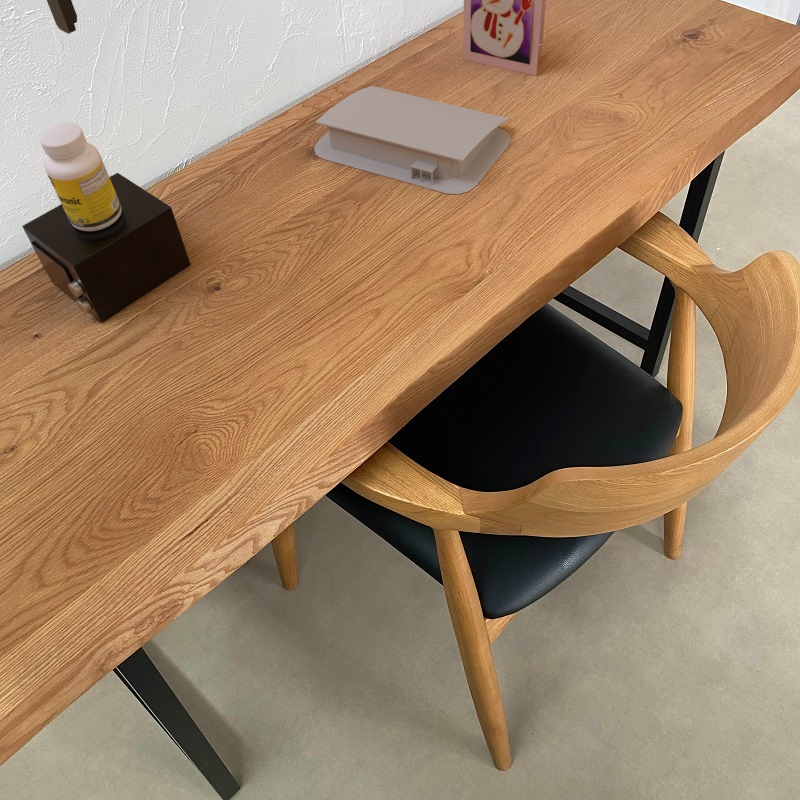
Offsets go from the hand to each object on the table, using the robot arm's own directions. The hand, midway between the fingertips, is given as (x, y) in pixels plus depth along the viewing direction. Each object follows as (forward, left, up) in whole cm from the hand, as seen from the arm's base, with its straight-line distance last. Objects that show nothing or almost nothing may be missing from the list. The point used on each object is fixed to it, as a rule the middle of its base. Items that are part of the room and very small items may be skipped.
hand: (25, 49), depth 69 cm
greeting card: (+45, +45, -26) cm, 69 cm away
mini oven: (0, 0, -26) cm, 26 cm away
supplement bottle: (0, 0, -18) cm, 18 cm away
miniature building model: (+32, +24, -26) cm, 48 cm away
